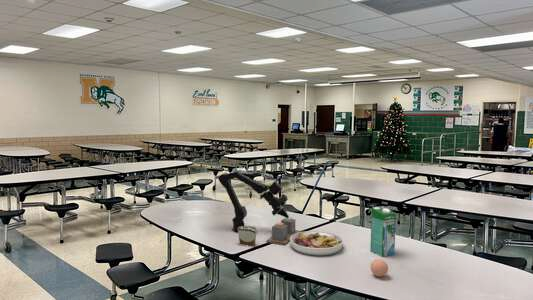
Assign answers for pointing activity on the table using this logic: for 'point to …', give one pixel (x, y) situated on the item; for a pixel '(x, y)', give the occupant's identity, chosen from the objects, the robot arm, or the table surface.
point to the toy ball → (379, 268)
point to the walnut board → (282, 241)
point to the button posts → (283, 230)
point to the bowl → (316, 242)
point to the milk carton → (382, 231)
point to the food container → (247, 235)
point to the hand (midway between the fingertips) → (288, 217)
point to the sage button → (288, 219)
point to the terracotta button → (279, 224)
